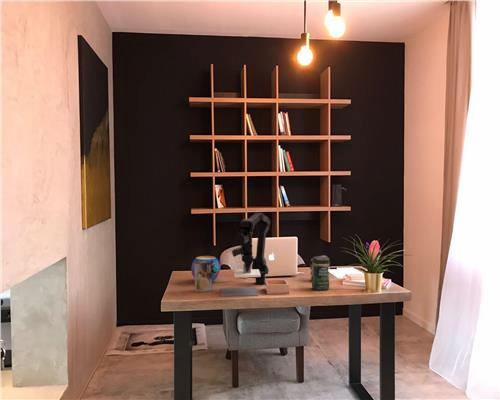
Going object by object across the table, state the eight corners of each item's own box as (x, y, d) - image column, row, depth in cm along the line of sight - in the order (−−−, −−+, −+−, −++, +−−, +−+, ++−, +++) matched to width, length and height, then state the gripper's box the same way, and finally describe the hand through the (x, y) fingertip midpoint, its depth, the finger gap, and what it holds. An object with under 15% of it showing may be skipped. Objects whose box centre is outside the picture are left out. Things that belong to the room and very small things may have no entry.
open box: (264, 288, 240) (264, 279, 240) (285, 288, 241) (285, 279, 241) (267, 294, 228) (267, 285, 228) (289, 293, 229) (289, 284, 229)
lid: (234, 271, 240) (234, 261, 240) (258, 271, 241) (258, 261, 240) (234, 277, 226) (234, 267, 226) (260, 276, 227) (260, 266, 226)
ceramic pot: (192, 286, 247) (192, 260, 246) (190, 279, 264) (190, 255, 264) (221, 284, 250) (221, 259, 250) (218, 277, 268) (218, 254, 267)
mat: (220, 288, 241) (220, 287, 241) (255, 287, 242) (255, 287, 242) (220, 296, 224) (220, 295, 224) (258, 295, 225) (258, 294, 225)
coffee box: (210, 288, 241) (210, 260, 241) (212, 291, 235) (212, 262, 235) (194, 289, 239) (194, 261, 238) (196, 292, 233) (196, 263, 232)
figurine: (331, 281, 256) (331, 257, 256) (313, 282, 254) (313, 258, 253) (325, 278, 265) (325, 254, 265) (308, 279, 263) (308, 255, 262)
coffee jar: (314, 291, 235) (314, 257, 234) (310, 287, 242) (310, 255, 242) (331, 290, 236) (331, 257, 235) (326, 286, 244) (326, 255, 243)
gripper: (232, 240, 241) (232, 267, 242) (232, 245, 223) (232, 275, 223) (251, 240, 242) (251, 267, 243) (253, 245, 223) (253, 274, 224)
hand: (247, 270), depth 233 cm, fingers closed on lid, 4 cm apart
